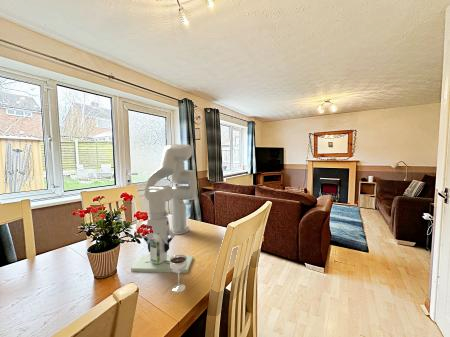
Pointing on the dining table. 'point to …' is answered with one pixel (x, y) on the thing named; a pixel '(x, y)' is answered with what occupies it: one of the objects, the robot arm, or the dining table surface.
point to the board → (148, 266)
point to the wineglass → (178, 269)
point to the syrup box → (157, 249)
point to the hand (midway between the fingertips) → (158, 250)
